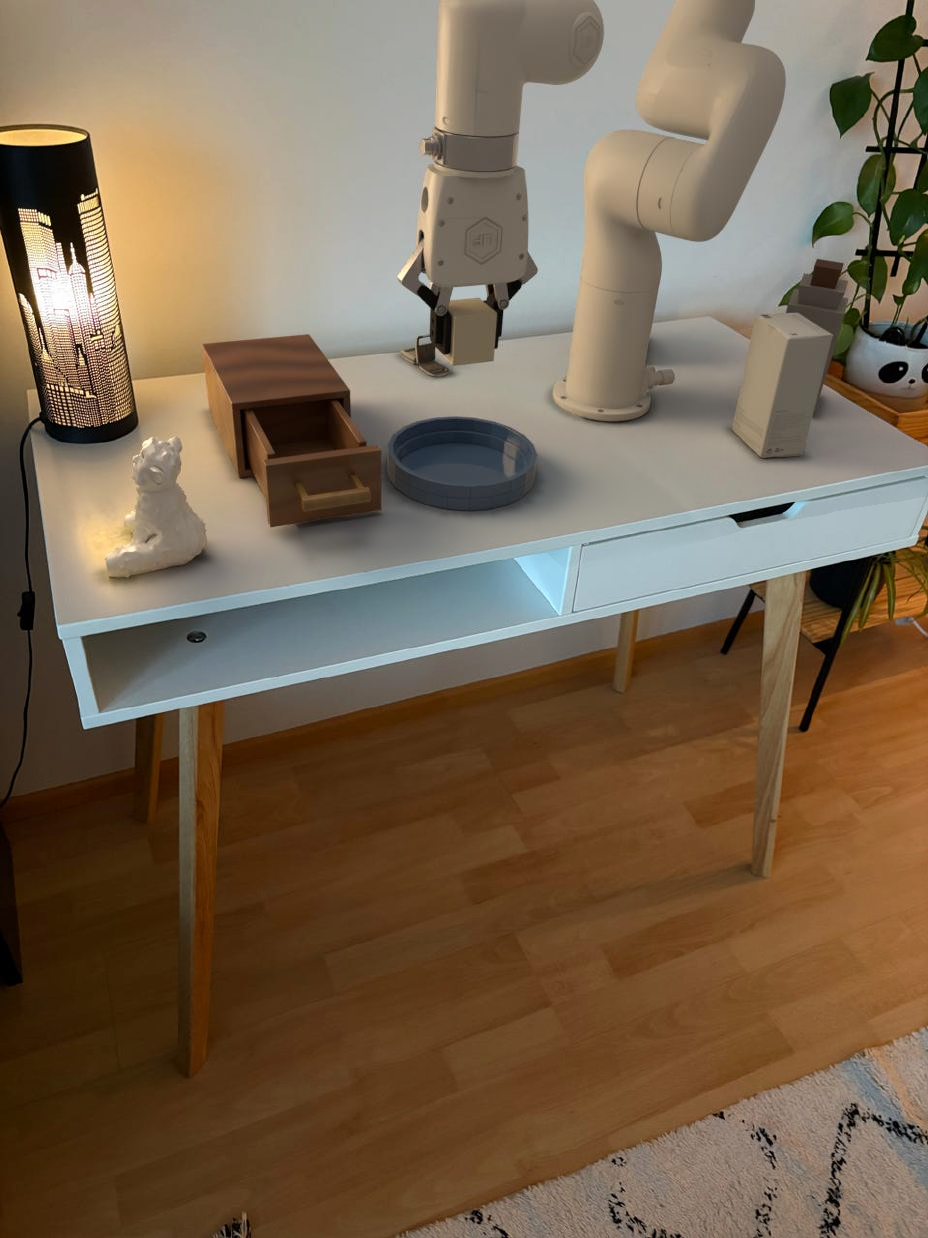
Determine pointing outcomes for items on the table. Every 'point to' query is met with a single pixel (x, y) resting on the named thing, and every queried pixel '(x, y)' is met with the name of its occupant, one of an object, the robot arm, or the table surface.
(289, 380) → the cabinet
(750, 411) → the cosmetic box
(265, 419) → the drawer
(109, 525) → the table surface
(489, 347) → the block
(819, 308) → the perfume bottle
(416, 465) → the plate
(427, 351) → the strap clip
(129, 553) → the sitting furry creature
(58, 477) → the table surface
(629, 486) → the table surface
